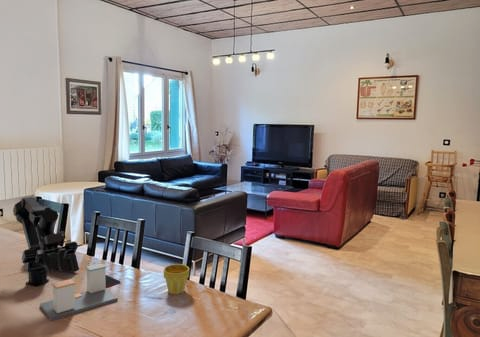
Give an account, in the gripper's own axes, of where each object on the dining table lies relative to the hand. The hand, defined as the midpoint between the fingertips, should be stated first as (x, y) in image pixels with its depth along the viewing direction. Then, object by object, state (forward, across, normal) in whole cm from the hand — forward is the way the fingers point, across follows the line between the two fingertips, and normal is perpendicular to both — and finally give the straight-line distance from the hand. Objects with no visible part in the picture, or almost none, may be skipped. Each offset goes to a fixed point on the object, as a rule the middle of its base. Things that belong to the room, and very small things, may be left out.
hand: (56, 271), depth 140 cm
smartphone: (+2, +22, +16) cm, 28 cm away
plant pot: (+22, +41, -4) cm, 47 cm away
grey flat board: (+12, +7, +5) cm, 15 cm away
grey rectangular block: (+8, +15, +8) cm, 19 cm away
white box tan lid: (+14, 0, +2) cm, 14 cm away
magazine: (-18, +10, +37) cm, 42 cm away
